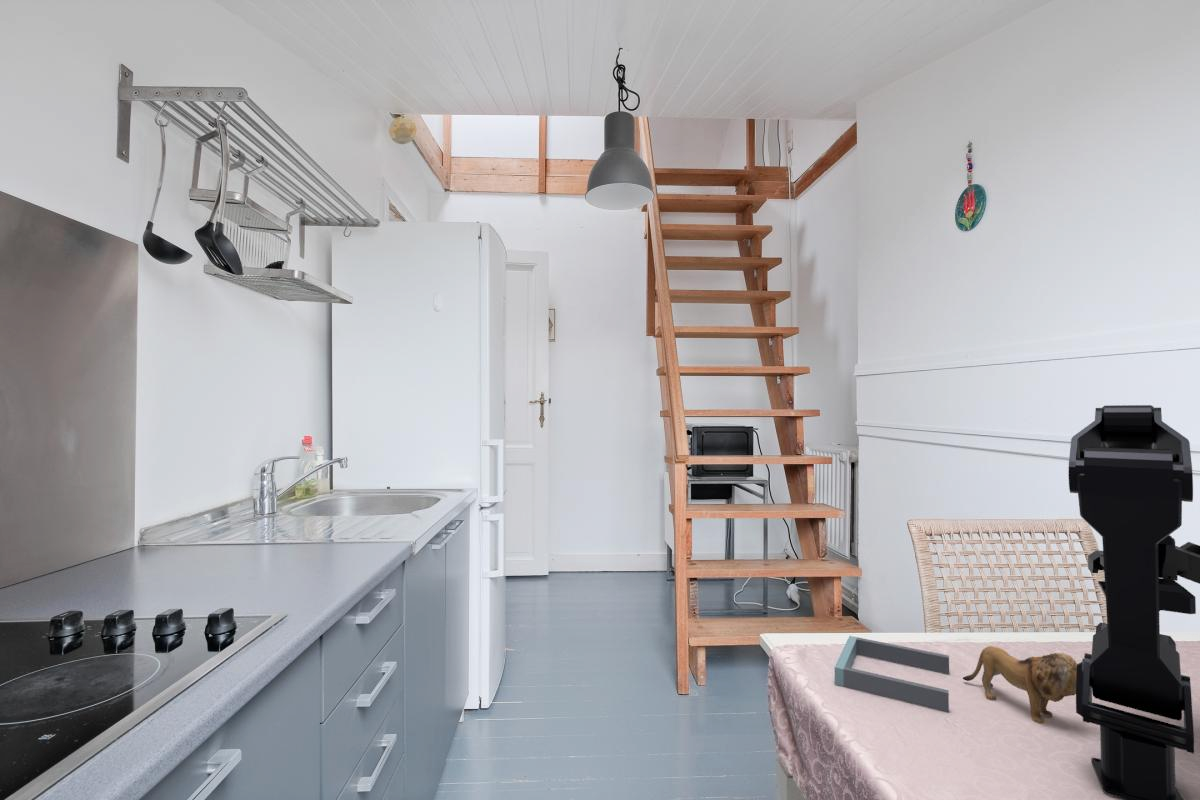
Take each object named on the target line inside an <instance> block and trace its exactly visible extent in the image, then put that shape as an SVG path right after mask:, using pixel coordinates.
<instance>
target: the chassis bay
mask: <svg viewBox="0 0 1200 800" xmlns="http://www.w3.org/2000/svg"><path fill="white" fill-rule="evenodd" d="M856 656H862V657H865V658H870V659H876V660H880V661H886V662H889V663H894V664H898V665H899V664H900V665H904V666H909V667H913V668H917V669H922V670H927V671H933V672H937V673H940V672H941V674H945V675H950V655H949V654H943V653H938V652H932V651H928V650H924V649H918V648H913V647H908V646H903V645H899V644H894V643H893V644H892V643H888V642H883V641H878V640H872V639H867V638H863V637H857V636H852V635H849V636H848V637H847V640H846V642H845V644H844V646H843V648H842V651H841V654H840V656H839V657H838V659H837V661H836V663H835V666H834V685H836V686H840V687H843V688H849V689H852V690H855V691H860V692H863V693H864V692H865V693H868V694H872V695H876V696H881V697H885V698H888V699H893V700H897V701H901V702H905V703H908V704H913V705H916V706H917V705H918V706H921V707H926V708H929V709H933V710H937V711H941V712H946V713H949V711H950V708H949V707H950V705H949V704H950V703H949V699H950V698H949V696H950V694H949V693H950V692H949V691H950V690H948V689H946V688H945V689H944V688H940V687H936V686H931V685H926V684H923V683H918V682H914V681H911V680H907V679H906V680H905V679H900V678H896V677H891V676H887V675H883V674H879V673H874V672H870V671H866V670H862V669H856V668H853V664H854V662H855V659H856V658H857V657H856Z"/></svg>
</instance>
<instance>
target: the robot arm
mask: <svg viewBox="0 0 1200 800" xmlns="http://www.w3.org/2000/svg"><path fill="white" fill-rule="evenodd" d="M1162 416H1163V415H1162V407H1154V406H1153V405H1151V404H1148V405H1147V404H1144V405H1143V404H1142V405H1139V404H1138V405H1137V404H1135V405H1131V404H1130V405H1129V404H1128V405H1126V404H1125V405H1124V404H1123V405H1114V404H1113V405H1104V406H1102V407H1096V408H1095V411H1094V420H1093V421H1092V422H1091V423H1090V424H1088V425H1087V426H1085V427H1083V428H1082V429H1081V430H1080V431H1079V432H1077V433H1076V434H1074V435H1073V436H1072V437H1071V439H1070V447H1069V458H1068V489H1069V493H1070V494H1077V497H1078V507H1079V509H1078V510H1079V514H1080V515H1079V516H1080V518H1082V519H1083V520H1084V521H1085V522H1086V523H1087V524H1088V525H1089V526H1090V527H1091V528H1092V529H1094V531H1096V533H1098V534H1099V536H1101V537H1102V540H1101V541H1102V550H1097V549H1096V550H1094V551H1093V552H1091V553H1090V554H1089V555H1087V569H1088V570H1089V571H1090V572H1091V573H1092V574H1096V575H1098V573H1099V571H1103V572H1104V573H1103V574H1104V580H1100V581H1099V580H1098V581H1097V583H1098V585H1099V587H1100V589H1101V591H1102V593H1103V595H1104V597H1105V606H1106V608H1105V609H1106V623H1105V622H1099V623H1098V624H1096V626H1095V634H1093V635H1092V643H1091V653H1086V652H1085V653H1084V657H1083V658H1082V661H1081V662H1079V663H1077V677H1076V694H1075V713H1076V714H1078V715H1079V716H1081V717H1082V722H1083V723H1087V724H1090V723H1091V724H1093V725H1096V726H1099V728H1100V729H1099V731H1100V732H1099V733H1100V734H1099V735H1100V739H1099V740H1100V758H1097V757H1091V759H1090V760H1091V764H1092V768H1093V770H1094V772H1095V774H1096V778H1097V779H1098V782H1099V785H1100V786H1101V789H1102V791H1103V793H1106V794H1108V795H1112V796H1115V797H1118V798H1122V799H1125V800H1185V799H1184V797H1183V796H1182V794H1181V793H1180V791H1179V789H1178V787H1177V785H1176V753H1175V752H1176V750H1175V749H1179V750H1182V751H1186V753H1190V754H1192V755H1195V732H1194V716H1193V701H1192V700H1193V699H1192V698H1193V697H1192V685H1191V677H1190V676H1188V675H1183V674H1182V673H1181V671H1182V670H1181V657H1180V656H1181V655H1180V653H1179V652H1178V651H1177V643H1176V642H1175V640H1174V639H1173V637H1171V635H1167V634H1166V635H1165V634H1162V633H1161V634H1160V629H1161V628H1160V611H1164V612H1171V613H1179V614H1186V615H1195V614H1197V612H1196V611H1197V609H1196V604H1197V603H1196V601H1197V600H1196V596H1195V595H1193V594H1192V592H1190V591H1189V590H1188V589H1186V588H1185V586H1183V585H1181V584H1180V583H1178V582H1177V581H1178V579H1179V578H1178V576H1179V577H1181V578H1183V579H1186V580H1189V581H1191V582H1193V583H1196V584H1198V585H1200V544H1199V545H1198V544H1195V543H1193V542H1190V541H1187V542H1186V543H1184V544H1182V545H1181V546H1177V545H1176V540H1175V538H1174V537H1172V535H1171V534H1172V533H1174V532H1175V531H1176V530H1178V529H1180V527H1181V526H1182V524H1183V523H1182V522H1183V521H1182V518H1183V517H1182V516H1183V514H1182V513H1183V502H1185V503H1186V502H1189V503H1193V500H1194V480H1193V479H1194V478H1193V477H1194V476H1193V474H1194V473H1193V464H1192V463H1193V462H1192V456H1191V455H1192V454H1191V453H1192V452H1191V446H1190V445H1191V443H1190V441H1189V439H1188V438H1187V437H1185V436H1184V435H1182V434H1181V433H1179V432H1178V431H1177V430H1175V429H1174V428H1173V427H1171V425H1168V424H1167V423H1166V422H1164V421H1163V417H1162ZM1093 697H1094V699H1097V700H1100V701H1103V702H1107V703H1111V704H1114V705H1118V706H1122V707H1126V708H1129V709H1133V710H1137V711H1140V712H1144V713H1148V714H1151V715H1154V716H1160V717H1163V718H1167V719H1171V720H1175V721H1181V720H1182V719H1183V726H1181V725H1177V724H1173V723H1170V722H1166V721H1163V720H1159V719H1156V718H1153V717H1148V716H1144V715H1139V714H1137V713H1133V712H1129V711H1126V710H1122V709H1118V708H1116V707H1115V708H1114V707H1111V706H1107V705H1104V704H1101V703H1096V702H1093Z"/></svg>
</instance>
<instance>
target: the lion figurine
mask: <svg viewBox="0 0 1200 800" xmlns="http://www.w3.org/2000/svg"><path fill="white" fill-rule="evenodd" d="M976 664H977V665H976V667H975V670H974V671H973V672H972V674H970V675H966V676H963V677H962V679H963V680H964V681H967V682H969V681H972V680H974V679H976V677H977V676H978V674H979V673H980V671H981V669H982V667H983V672H982V673H983V674H982V676H981V677H982V678H981V682H982V685H983V686H984V687H983V688H984V695H985V697H986V699H988V700H990V701H995V700H997V696H996V695H995V694H994V693H993V692H992V689H993V687H994V685H993V683H992V680H993V679H994V677H995V676H998V675H1001V676H1002V677H1003V678H1004V679H1005V681H1007V682H1008V683H1009V684H1011V686H1014V687H1016V688H1017V689H1020V690H1023V691H1025V692H1026V694H1027V695H1028V700H1029V701H1028V702H1029V706H1030V716H1031V720H1032V721H1033V722H1035V723H1037V724H1044V723H1045V719H1044V718H1043V717H1046V718H1053V716H1054V715H1053V714H1054V713H1052V711H1049V710H1048V709H1047V707H1048V703H1049V701H1052V702H1054V703H1056V702H1060V701H1062V700H1063V699H1064V698H1065V697H1070V696H1076V677H1077V664H1078V663H1077V661H1076V660H1075V659H1073V657H1072V656H1071V655H1069V654H1066V653H1061V652H1060V653H1059V652H1053V653H1049V654H1045V655H1042V656H1030V657H1028V658H1025V659H1018V658H1016V657H1013V656H1012V655H1011V654H1009V653H1008V652H1007V651H1005V650H1004V649H1003V648H1000V647H997V646H992V645H991V646H990V645H989V646H986V647H984V648H983V649H982V651H981V652H980V655H979V658H978V661H977V663H976ZM1042 716H1043V717H1042Z"/></svg>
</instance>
